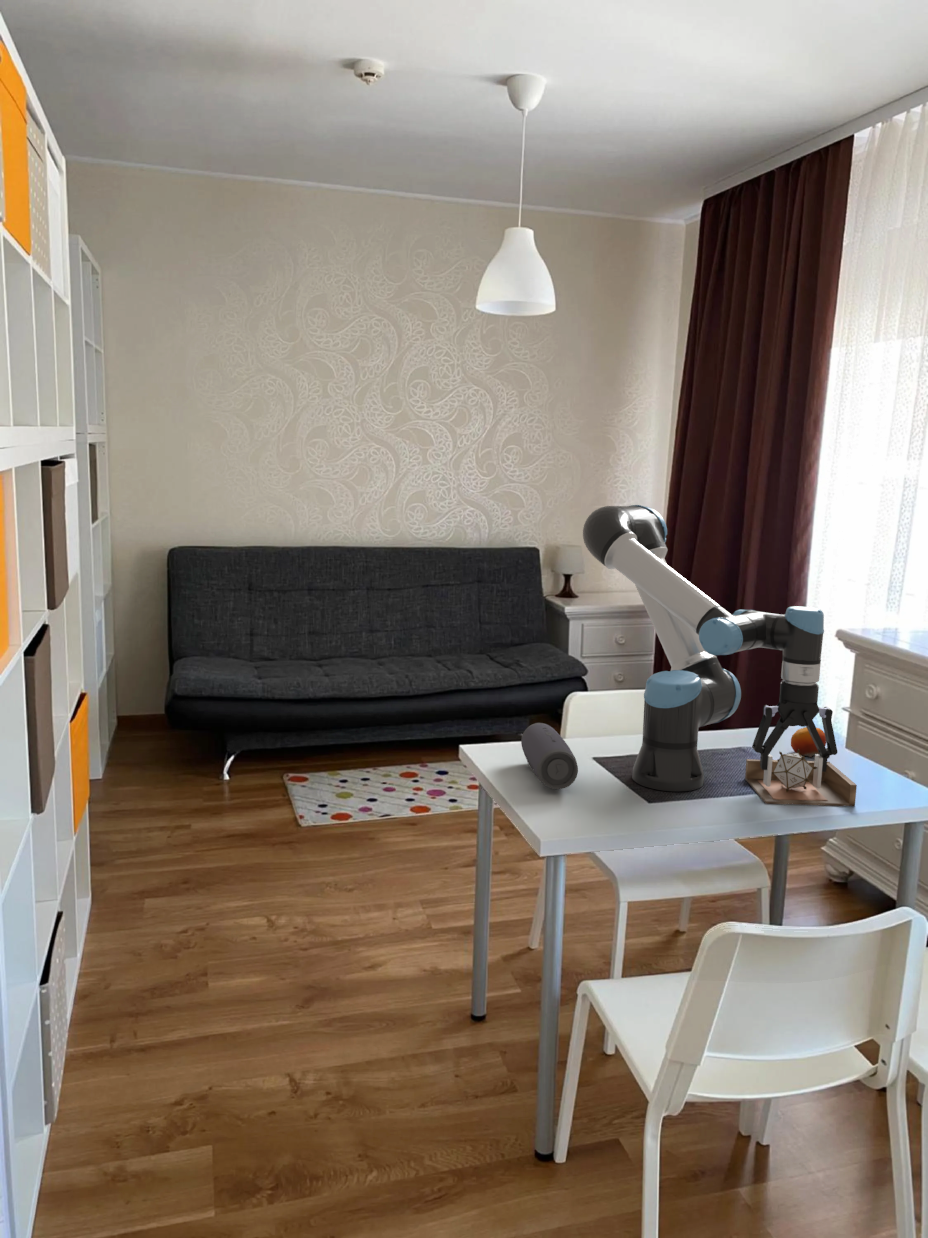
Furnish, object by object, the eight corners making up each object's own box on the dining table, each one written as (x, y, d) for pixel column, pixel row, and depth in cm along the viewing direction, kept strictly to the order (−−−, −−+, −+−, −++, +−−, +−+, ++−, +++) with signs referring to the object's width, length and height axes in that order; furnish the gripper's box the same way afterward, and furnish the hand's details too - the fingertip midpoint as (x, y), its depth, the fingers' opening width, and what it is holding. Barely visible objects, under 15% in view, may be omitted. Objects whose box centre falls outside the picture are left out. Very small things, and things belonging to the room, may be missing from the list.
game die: (782, 806, 204) (754, 768, 204) (795, 783, 210) (769, 746, 210) (817, 796, 198) (789, 757, 197) (830, 772, 204) (803, 734, 203)
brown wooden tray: (765, 803, 197) (767, 782, 196) (745, 779, 213) (746, 759, 212) (854, 806, 197) (856, 785, 196) (827, 781, 213) (829, 761, 212)
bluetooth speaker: (580, 795, 200) (582, 748, 198) (535, 796, 199) (537, 748, 197) (558, 762, 222) (560, 720, 221) (518, 762, 221) (519, 720, 220)
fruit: (815, 757, 226) (803, 724, 229) (791, 765, 233) (781, 733, 235) (839, 753, 230) (828, 721, 232) (816, 762, 236) (805, 730, 239)
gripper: (750, 684, 197) (742, 789, 201) (861, 687, 197) (851, 793, 200) (740, 676, 205) (733, 778, 208) (847, 679, 204) (838, 781, 208)
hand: (791, 785), depth 204 cm, fingers closed on game die, 10 cm apart
